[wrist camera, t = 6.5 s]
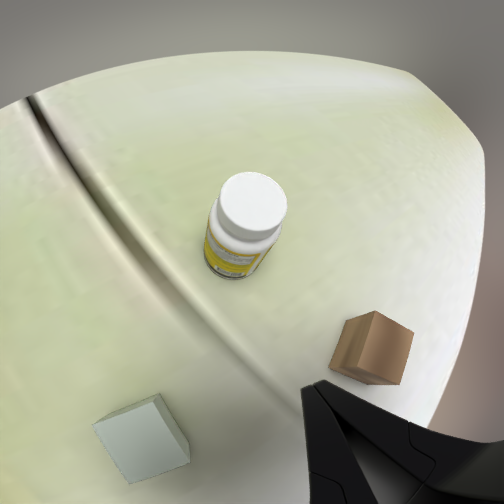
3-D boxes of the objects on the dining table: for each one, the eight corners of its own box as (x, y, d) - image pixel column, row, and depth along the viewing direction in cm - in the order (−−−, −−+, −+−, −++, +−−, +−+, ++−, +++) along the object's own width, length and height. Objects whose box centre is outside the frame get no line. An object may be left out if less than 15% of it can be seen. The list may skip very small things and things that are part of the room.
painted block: (189, 443, 17) (190, 462, 13) (138, 462, 16) (129, 484, 12) (159, 393, 18) (152, 401, 14) (109, 413, 17) (91, 425, 13)
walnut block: (382, 339, 24) (414, 332, 20) (367, 384, 22) (399, 384, 18) (345, 320, 24) (375, 310, 20) (327, 367, 22) (356, 366, 18)
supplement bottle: (242, 219, 25) (267, 157, 17) (270, 264, 24) (310, 217, 16) (192, 241, 23) (198, 181, 16) (220, 290, 22) (240, 251, 15)
